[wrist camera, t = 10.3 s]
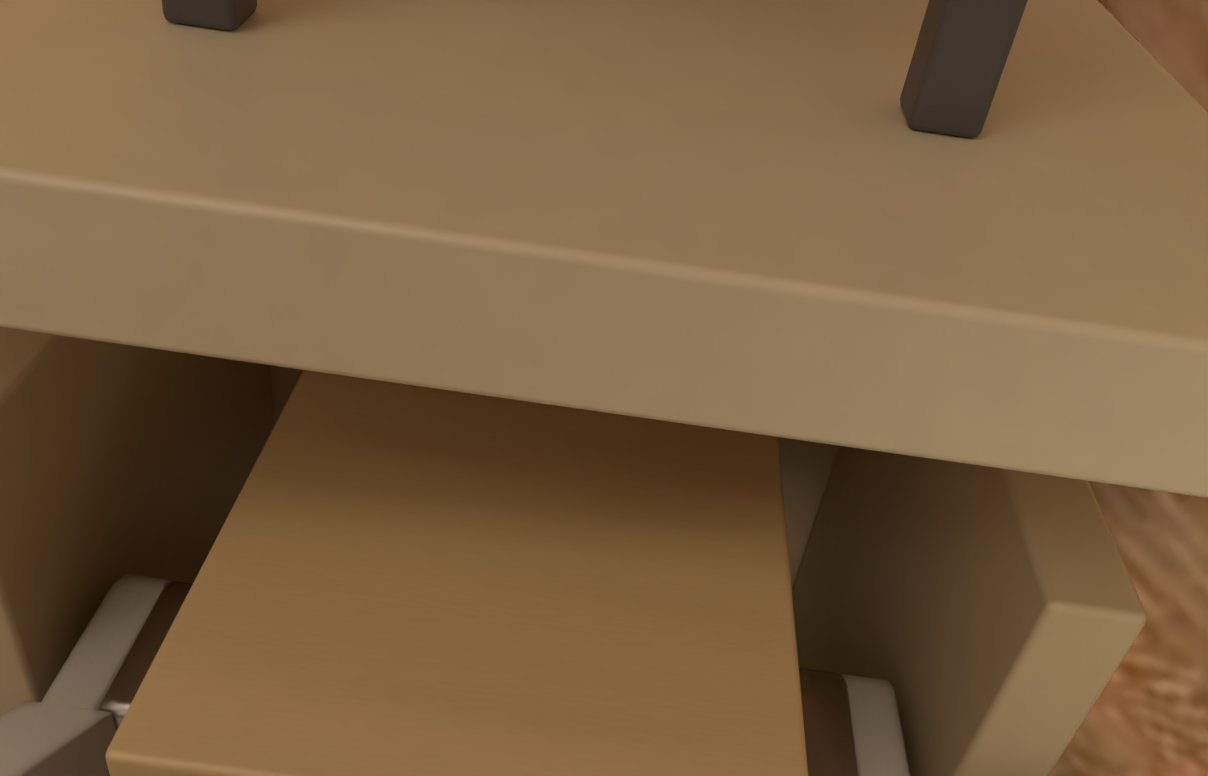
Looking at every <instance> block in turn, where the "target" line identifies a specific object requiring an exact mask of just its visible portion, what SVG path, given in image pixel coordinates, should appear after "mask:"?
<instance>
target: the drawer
mask: <svg viewBox="0 0 1208 776" xmlns="http://www.w3.org/2000/svg"><path fill="white" fill-rule="evenodd" d="M303 370H308V371H315V372H322V373H329V374H337V375H344V376H351V377H358V378H365V379H372V380H379V381H386V382H393V383H400V384H407V385H414V386H421V387H428V388H436V389H443V390H450V391H457V392H464V393H471V394H478V395H485V396H492V397H499V398H506V399H513V400H520V401H527V402H535V403H542V404H549V405H556V406H563V407H570V408H577V409H584V410H591V411H598V412H605V413H612V414H619V415H626V416H634V417H641V418H648V419H655V420H662V421H669V422H676V423H683V424H690V425H697V426H704V427H711V428H718V429H725V430H733V431H740V432H747V433H754V434H761V435H768V436H775V437H778V438H779V450H780V461H781V472H782V483H783V495H784V506H785V517H786V529H787V540H788V551H789V562H790V574H791V585H792V596H793V608H794V619H795V630H796V641H797V653H798V664H799V668H806V669H814V670H822V671H830V672H838V673H839V675H841V674H845V675H852V676H859V677H866V678H874V679H881V680H888V681H889V682H890V683H891V685H892V686H893V688H894V689H895V694H896V700H897V705H898V711H899V716H900V722H901V727H902V733H903V738H904V744H905V750H906V755H907V761H908V766H909V772H910V776H1048V775H1049V774H1050V772H1051V770H1052V769H1053V767H1054V766H1055V764H1056V763H1057V761H1058V759H1059V758H1060V756H1061V755H1062V753H1063V752H1064V750H1065V749H1066V747H1067V745H1068V744H1069V742H1070V741H1071V739H1072V738H1073V736H1074V734H1075V733H1076V731H1077V730H1078V728H1079V727H1080V725H1081V723H1082V722H1083V720H1084V719H1085V717H1086V716H1087V714H1088V713H1089V711H1090V709H1091V708H1092V706H1093V705H1094V703H1095V702H1096V700H1097V698H1098V697H1099V695H1100V694H1101V692H1102V691H1103V689H1104V688H1105V686H1106V684H1107V683H1108V681H1109V680H1110V678H1111V677H1112V675H1113V673H1114V672H1115V670H1116V669H1117V667H1118V666H1119V664H1120V663H1121V661H1122V659H1123V658H1124V656H1125V655H1126V653H1127V652H1128V650H1129V648H1130V647H1131V645H1132V644H1133V642H1134V641H1135V639H1136V637H1137V636H1138V634H1139V633H1140V631H1141V630H1142V628H1143V627H1144V625H1145V623H1146V612H1145V610H1144V608H1143V606H1142V603H1141V601H1140V599H1139V596H1138V594H1137V592H1136V589H1135V587H1134V585H1133V583H1132V580H1131V578H1130V576H1129V573H1128V571H1127V569H1126V567H1125V564H1124V562H1123V560H1122V557H1121V555H1120V553H1119V550H1118V548H1117V546H1116V544H1115V541H1114V539H1113V537H1112V534H1111V532H1110V530H1109V528H1108V525H1107V523H1106V521H1105V518H1104V516H1103V514H1102V511H1101V509H1100V507H1099V505H1098V502H1097V500H1096V498H1095V495H1094V493H1093V491H1092V489H1091V486H1090V484H1089V482H1088V481H1093V482H1100V483H1107V484H1114V485H1122V486H1129V487H1136V488H1143V489H1150V490H1157V491H1164V492H1171V493H1178V494H1185V495H1192V496H1199V497H1206V498H1208V112H1207V111H1206V110H1205V109H1204V108H1203V107H1202V106H1201V105H1200V104H1199V103H1198V102H1197V101H1196V100H1195V99H1194V98H1193V97H1192V96H1191V95H1190V94H1189V93H1188V92H1187V91H1186V90H1185V89H1184V88H1183V87H1182V86H1181V85H1180V84H1179V83H1178V82H1177V81H1176V80H1175V79H1174V78H1173V77H1172V75H1171V74H1170V73H1169V72H1168V71H1167V70H1166V69H1165V68H1164V67H1163V66H1162V65H1161V64H1160V63H1159V62H1158V61H1157V60H1156V59H1155V58H1154V57H1153V56H1152V55H1151V54H1150V53H1149V52H1148V51H1147V50H1146V49H1145V48H1144V47H1143V46H1142V45H1141V44H1140V43H1139V42H1138V41H1137V40H1136V39H1135V38H1134V37H1133V36H1132V35H1131V34H1130V33H1129V32H1128V31H1127V30H1126V29H1125V28H1124V27H1123V26H1122V25H1121V24H1120V23H1119V22H1118V21H1117V20H1116V18H1115V17H1114V16H1113V15H1112V14H1111V13H1110V12H1109V11H1108V10H1107V9H1106V8H1105V7H1104V6H1103V5H1102V4H1101V3H1100V2H1099V1H1098V0H0V717H1V716H3V715H4V714H6V713H7V712H9V711H10V710H12V709H14V708H15V707H17V706H18V705H20V704H22V703H23V702H25V701H35V702H41V701H42V700H43V698H44V696H45V695H46V693H47V691H48V690H49V688H50V686H51V685H52V683H53V681H54V680H55V678H56V676H57V675H58V673H59V671H60V670H61V668H62V666H63V665H64V663H65V661H66V660H67V658H68V657H69V655H70V653H71V652H72V650H73V648H74V647H75V645H76V643H77V642H78V640H79V638H80V637H81V635H82V633H83V632H84V630H85V628H86V627H87V625H88V623H89V622H90V620H91V618H92V617H93V615H94V614H95V612H96V610H97V609H98V607H99V605H100V604H101V602H102V600H103V599H104V597H105V595H106V594H107V592H108V590H109V589H110V587H111V586H112V585H113V584H114V583H115V582H116V581H117V580H118V579H120V578H121V577H122V576H123V575H124V574H132V575H139V576H145V577H152V578H158V579H165V580H172V581H179V582H185V583H191V584H193V583H194V581H195V579H196V577H197V575H198V573H199V571H200V569H201V567H202V565H203V563H204V562H205V560H206V558H207V556H208V554H209V552H210V550H211V548H212V546H213V544H214V542H215V540H216V538H217V536H218V534H219V533H220V531H221V529H222V527H223V525H224V523H225V521H226V519H227V517H228V515H229V513H230V511H231V509H232V507H233V505H234V504H235V502H236V500H237V498H238V496H239V494H240V492H241V490H242V488H243V486H244V484H245V482H246V480H247V478H248V477H249V475H250V473H251V471H252V469H253V467H254V465H255V463H256V461H257V459H258V457H259V455H260V453H261V451H262V449H263V448H264V446H265V444H266V442H267V440H268V438H269V436H270V434H271V432H272V430H273V428H274V426H275V424H276V422H277V421H278V419H279V417H280V415H281V413H282V411H283V409H284V407H285V405H286V403H287V401H288V399H289V397H290V395H291V393H292V392H293V390H294V388H295V386H296V384H297V382H298V380H299V378H300V376H301V374H302V372H303Z"/></svg>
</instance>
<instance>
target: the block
mask: <svg viewBox="0 0 1208 776" xmlns="http://www.w3.org/2000/svg"><path fill="white" fill-rule="evenodd" d="M106 763H107V766H108V770H109V774H110V776H808V766H807V754H806V743H805V732H804V720H803V709H802V698H801V687H800V675H799V664H798V653H797V641H796V630H795V619H794V608H793V596H792V585H791V574H790V562H789V551H788V540H787V529H786V517H785V506H784V495H783V483H782V472H781V461H780V450H779V438H778V437H775V436H768V435H761V434H754V433H747V432H740V431H733V430H725V429H718V428H711V427H704V426H697V425H690V424H683V423H676V422H669V421H662V420H655V419H648V418H641V417H634V416H626V415H619V414H612V413H605V412H598V411H591V410H584V409H577V408H570V407H563V406H556V405H549V404H542V403H535V402H527V401H520V400H513V399H506V398H499V397H492V396H485V395H478V394H471V393H464V392H457V391H450V390H443V389H436V388H428V387H421V386H414V385H407V384H400V383H393V382H386V381H379V380H372V379H365V378H358V377H351V376H344V375H337V374H329V373H322V372H315V371H308V370H303V372H302V374H301V376H300V378H299V380H298V382H297V384H296V386H295V388H294V390H293V392H292V393H291V395H290V397H289V399H288V401H287V403H286V405H285V407H284V409H283V411H282V413H281V415H280V417H279V419H278V421H277V422H276V424H275V426H274V428H273V430H272V432H271V434H270V436H269V438H268V440H267V442H266V444H265V446H264V448H263V449H262V451H261V453H260V455H259V457H258V459H257V461H256V463H255V465H254V467H253V469H252V471H251V473H250V475H249V477H248V478H247V480H246V482H245V484H244V486H243V488H242V490H241V492H240V494H239V496H238V498H237V500H236V502H235V504H234V505H233V507H232V509H231V511H230V513H229V515H228V517H227V519H226V521H225V523H224V525H223V527H222V529H221V531H220V533H219V534H218V536H217V538H216V540H215V542H214V544H213V546H212V548H211V550H210V552H209V554H208V556H207V558H206V560H205V562H204V563H203V565H202V567H201V569H200V571H199V573H198V575H197V577H196V579H195V581H194V583H193V585H192V587H191V589H190V590H189V592H188V594H187V596H186V598H185V600H184V602H183V604H182V606H181V608H180V610H179V612H178V614H177V616H176V618H175V619H174V621H173V623H172V625H171V627H170V629H169V631H168V633H167V635H166V637H165V639H164V641H163V643H162V645H161V646H160V648H159V650H158V652H157V654H156V656H155V658H154V660H153V662H152V664H151V666H150V668H149V670H148V672H147V674H146V675H145V677H144V679H143V681H142V683H141V685H140V687H139V689H138V691H137V693H136V695H135V697H134V699H133V701H132V703H131V704H130V706H129V708H128V710H127V712H126V714H125V716H124V718H123V720H122V722H121V724H120V726H119V728H118V730H117V731H116V733H115V735H114V737H113V739H112V741H111V743H110V745H109V747H108V749H107V751H106Z"/></svg>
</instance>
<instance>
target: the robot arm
mask: <svg viewBox="0 0 1208 776" xmlns="http://www.w3.org/2000/svg"><path fill="white" fill-rule="evenodd" d="M192 585H193V584H191V583H185V582H179V581H172V580H165V579H158V578H152V577H145V576H139V575H132V574H124V575H123V576H122V577H121V578H120V579H118V580H117V581H116V582H115V583H114V584H113V585H112V586H111V587H110V589H109V590H108V592H107V594H106V595H105V597H104V599H103V600H102V602H101V604H100V605H99V607H98V609H97V610H96V612H95V614H94V615H93V617H92V618H91V620H90V622H89V623H88V625H87V627H86V628H85V630H84V632H83V633H82V635H81V637H80V638H79V640H78V642H77V643H76V645H75V647H74V648H73V650H72V652H71V653H70V655H69V657H68V658H67V660H66V661H65V663H64V665H63V666H62V668H61V670H60V671H59V673H58V675H57V676H56V678H55V680H54V681H53V683H52V685H51V686H50V688H49V690H48V691H47V693H46V695H45V696H44V698H43V700H42V701H41V702H35V701H25V702H23V703H22V704H20V705H18V706H17V707H15V708H14V709H12V710H10V711H9V712H7V713H6V714H4V715H3V716H1V717H0V776H110V774H109V770H108V766H107V763H106V751H107V749H108V747H109V745H110V743H111V741H112V739H113V737H114V735H115V733H116V731H117V730H118V728H119V726H120V724H121V722H122V720H123V718H124V716H125V714H126V712H127V710H128V708H129V706H130V704H131V703H132V701H133V699H134V697H135V695H136V693H137V691H138V689H139V687H140V685H141V683H142V681H143V679H144V677H145V675H146V674H147V672H148V670H149V668H150V666H151V664H152V662H153V660H154V658H155V656H156V654H157V652H158V650H159V648H160V646H161V645H162V643H163V641H164V639H165V637H166V635H167V633H168V631H169V629H170V627H171V625H172V623H173V621H174V619H175V618H176V616H177V614H178V612H179V610H180V608H181V606H182V604H183V602H184V600H185V598H186V596H187V594H188V592H189V590H190V589H191V587H192ZM799 675H800V687H801V698H802V709H803V720H804V732H805V743H806V754H807V766H808V776H910V772H909V766H908V761H907V755H906V750H905V744H904V738H903V733H902V727H901V722H900V716H899V711H898V705H897V700H896V694H895V689H894V688H893V686H892V685H891V683H890V682H889V681H888V680H881V679H874V678H866V677H859V676H852V675H845V674H841V675H839V673H838V672H830V671H822V670H814V669H806V668H799Z"/></svg>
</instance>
